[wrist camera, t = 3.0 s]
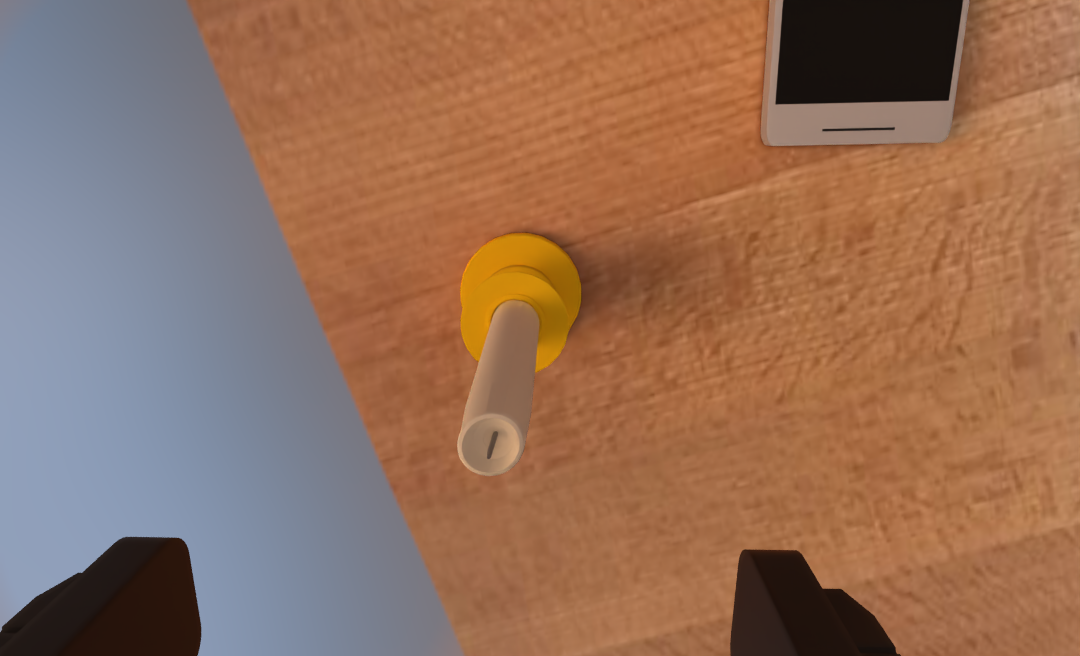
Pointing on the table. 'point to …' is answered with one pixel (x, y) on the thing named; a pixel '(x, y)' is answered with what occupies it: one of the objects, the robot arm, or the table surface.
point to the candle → (511, 340)
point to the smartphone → (861, 71)
